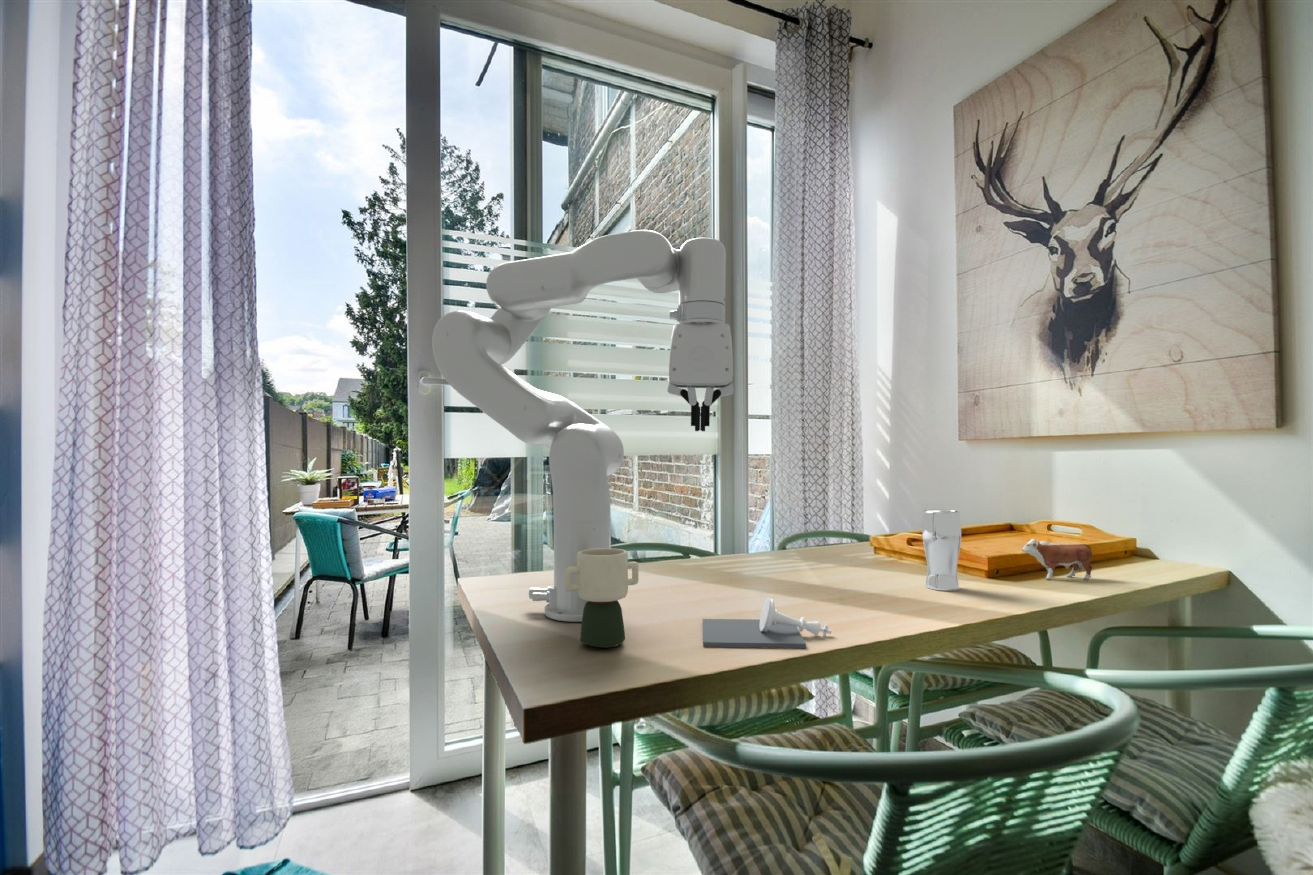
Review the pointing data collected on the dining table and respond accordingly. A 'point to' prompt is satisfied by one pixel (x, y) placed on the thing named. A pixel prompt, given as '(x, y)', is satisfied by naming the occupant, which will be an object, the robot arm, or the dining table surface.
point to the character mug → (602, 593)
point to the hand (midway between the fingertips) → (700, 430)
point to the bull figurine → (1061, 556)
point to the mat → (749, 634)
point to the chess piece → (787, 620)
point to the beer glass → (941, 548)
